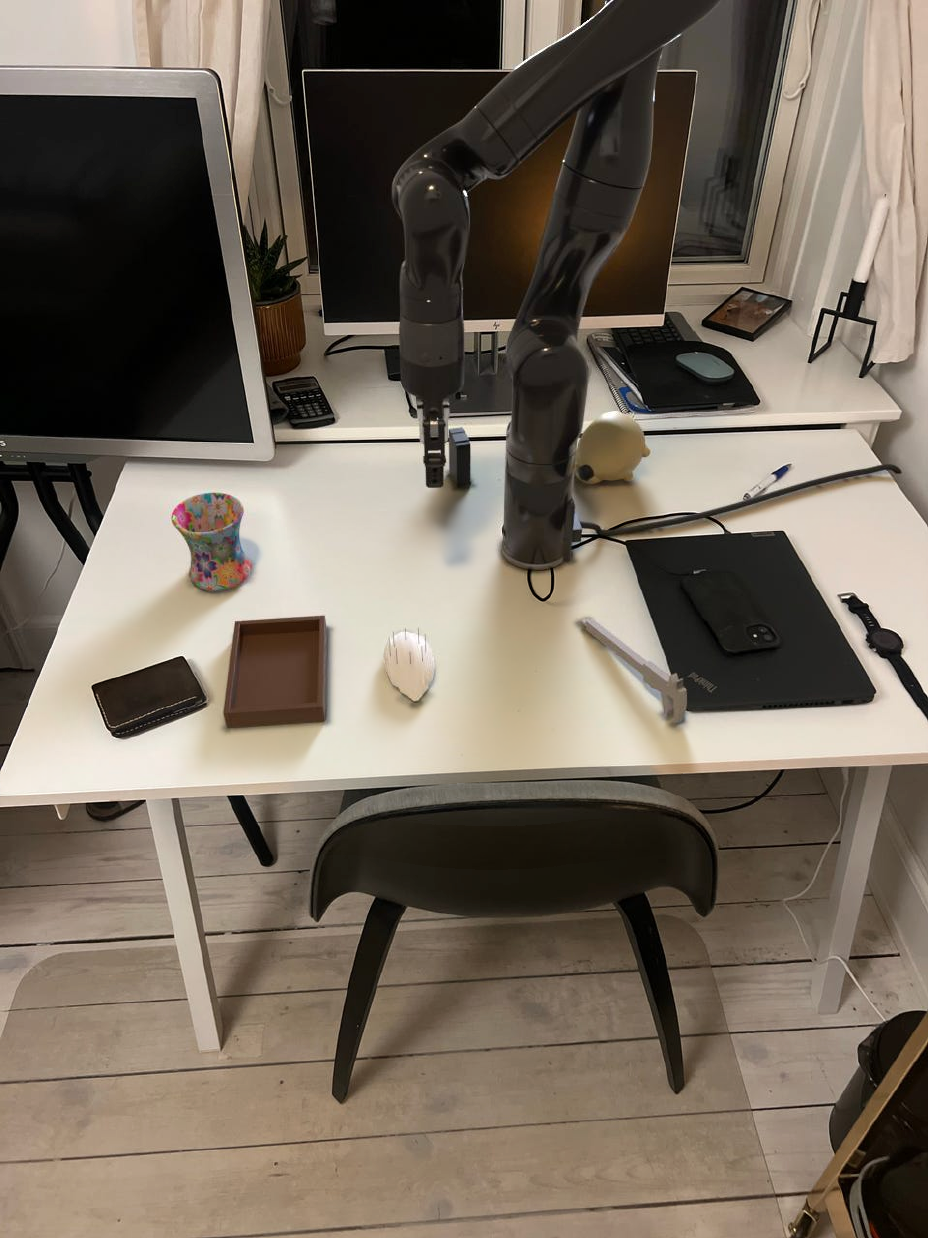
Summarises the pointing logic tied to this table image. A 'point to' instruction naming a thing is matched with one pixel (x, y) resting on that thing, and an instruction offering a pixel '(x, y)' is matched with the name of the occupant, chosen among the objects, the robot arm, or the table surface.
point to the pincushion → (409, 663)
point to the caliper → (645, 671)
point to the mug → (213, 539)
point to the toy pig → (610, 449)
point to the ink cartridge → (459, 457)
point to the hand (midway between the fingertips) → (434, 467)
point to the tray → (277, 672)
